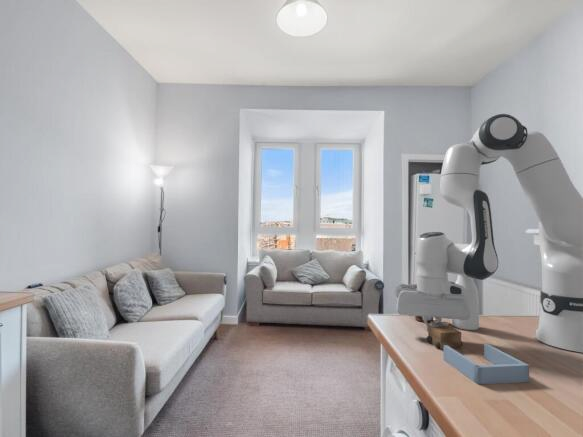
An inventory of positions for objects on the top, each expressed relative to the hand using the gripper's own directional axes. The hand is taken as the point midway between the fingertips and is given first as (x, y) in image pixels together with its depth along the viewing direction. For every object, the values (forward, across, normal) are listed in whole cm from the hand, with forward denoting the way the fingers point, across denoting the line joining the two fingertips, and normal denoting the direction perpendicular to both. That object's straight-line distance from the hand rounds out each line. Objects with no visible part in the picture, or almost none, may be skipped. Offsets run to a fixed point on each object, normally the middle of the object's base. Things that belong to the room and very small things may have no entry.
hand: (431, 331), depth 92 cm
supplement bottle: (+2, 0, +17) cm, 17 cm away
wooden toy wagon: (+2, +2, -6) cm, 7 cm away
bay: (+2, +8, -20) cm, 21 cm away
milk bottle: (+2, +12, +13) cm, 18 cm away
